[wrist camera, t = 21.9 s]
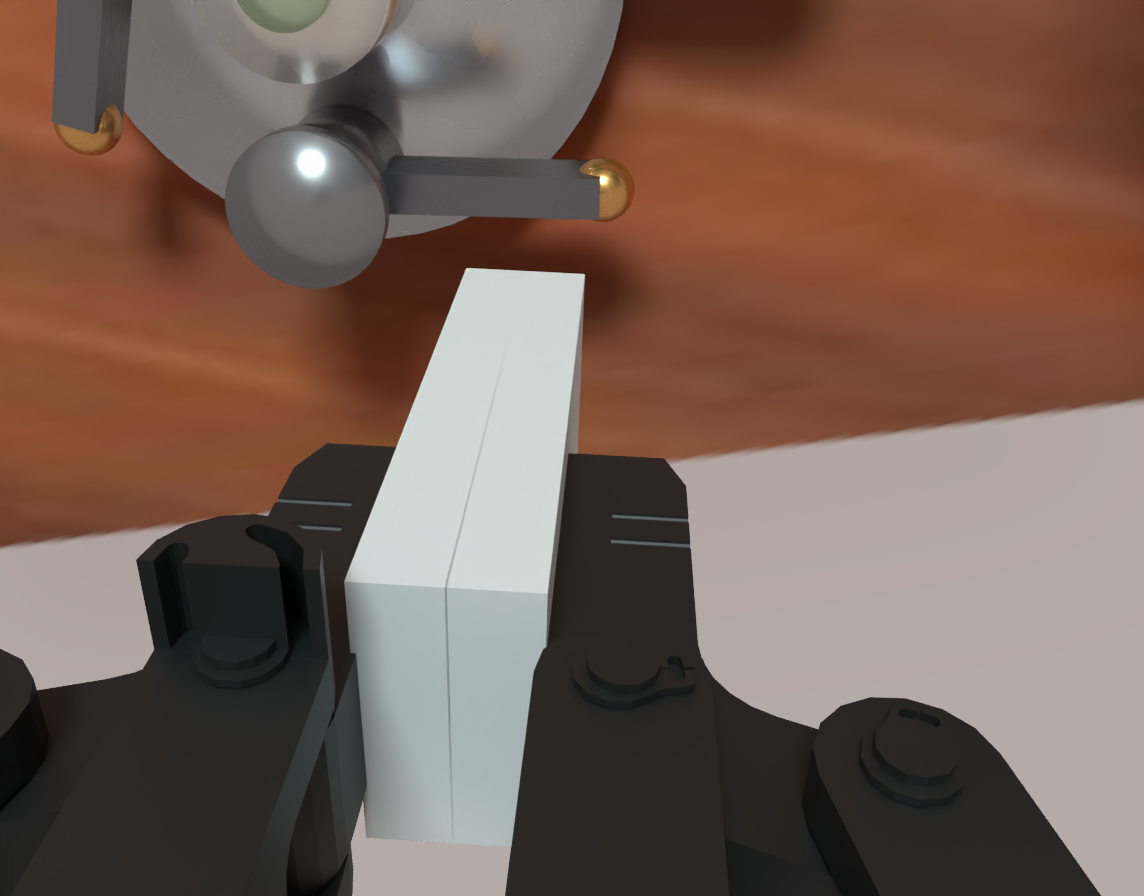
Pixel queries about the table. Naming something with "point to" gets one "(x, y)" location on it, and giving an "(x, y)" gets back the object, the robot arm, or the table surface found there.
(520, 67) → the tribrach plate
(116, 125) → the knob
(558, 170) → the knob
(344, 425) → the table surface
